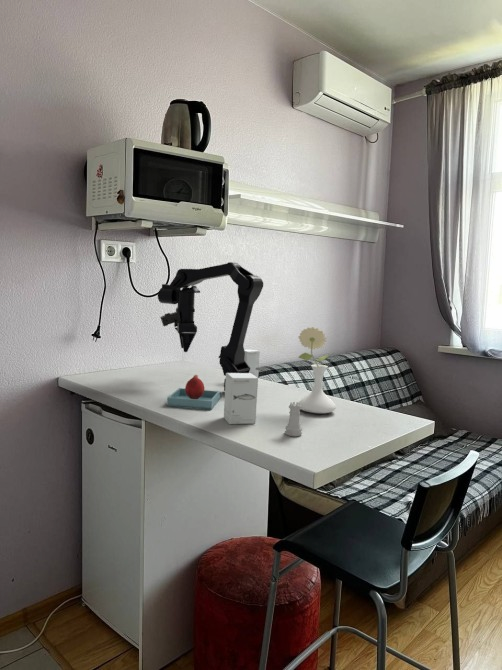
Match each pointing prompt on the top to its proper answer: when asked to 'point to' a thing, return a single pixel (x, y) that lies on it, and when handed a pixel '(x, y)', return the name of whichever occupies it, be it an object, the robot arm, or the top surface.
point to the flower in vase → (315, 374)
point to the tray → (193, 400)
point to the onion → (194, 388)
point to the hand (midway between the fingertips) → (184, 350)
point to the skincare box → (252, 361)
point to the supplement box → (240, 398)
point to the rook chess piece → (294, 420)
